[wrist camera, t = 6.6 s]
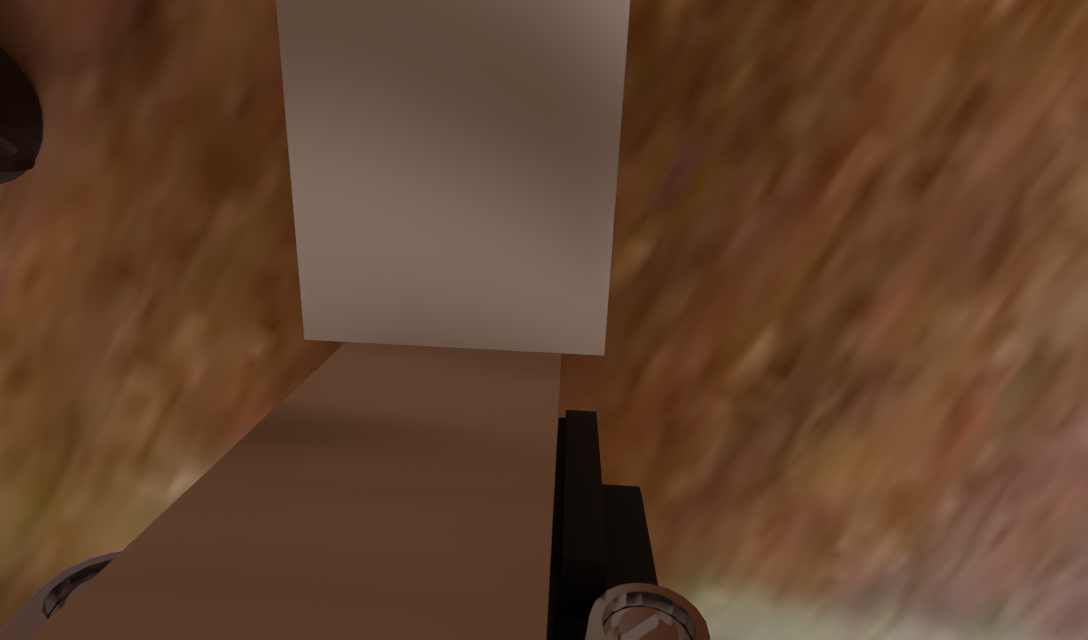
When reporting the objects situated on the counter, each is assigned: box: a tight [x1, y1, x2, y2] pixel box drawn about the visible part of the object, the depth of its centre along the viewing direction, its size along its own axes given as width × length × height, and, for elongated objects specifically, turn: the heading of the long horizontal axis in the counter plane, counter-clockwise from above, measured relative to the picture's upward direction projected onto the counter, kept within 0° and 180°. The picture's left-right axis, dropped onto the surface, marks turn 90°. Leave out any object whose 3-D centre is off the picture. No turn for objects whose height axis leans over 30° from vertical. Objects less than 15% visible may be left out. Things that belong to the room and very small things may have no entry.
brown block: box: [28, 0, 630, 640], centre depth 7 cm, size 13×5×7 cm, turn 178°
